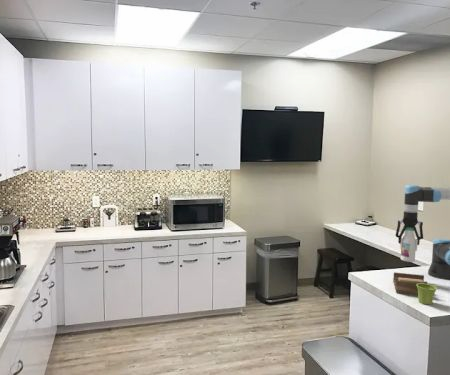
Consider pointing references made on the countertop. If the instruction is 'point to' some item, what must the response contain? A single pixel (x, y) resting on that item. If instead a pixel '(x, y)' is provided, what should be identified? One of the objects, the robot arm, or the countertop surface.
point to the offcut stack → (410, 280)
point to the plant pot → (426, 293)
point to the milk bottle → (408, 245)
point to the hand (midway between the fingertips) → (408, 249)
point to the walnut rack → (406, 283)
